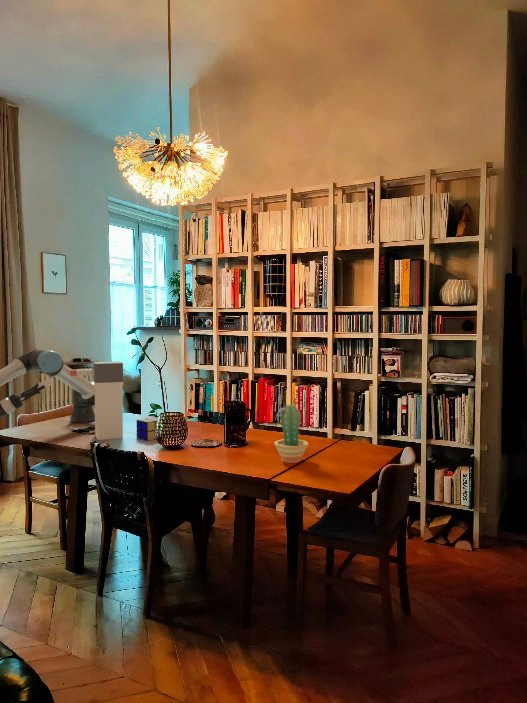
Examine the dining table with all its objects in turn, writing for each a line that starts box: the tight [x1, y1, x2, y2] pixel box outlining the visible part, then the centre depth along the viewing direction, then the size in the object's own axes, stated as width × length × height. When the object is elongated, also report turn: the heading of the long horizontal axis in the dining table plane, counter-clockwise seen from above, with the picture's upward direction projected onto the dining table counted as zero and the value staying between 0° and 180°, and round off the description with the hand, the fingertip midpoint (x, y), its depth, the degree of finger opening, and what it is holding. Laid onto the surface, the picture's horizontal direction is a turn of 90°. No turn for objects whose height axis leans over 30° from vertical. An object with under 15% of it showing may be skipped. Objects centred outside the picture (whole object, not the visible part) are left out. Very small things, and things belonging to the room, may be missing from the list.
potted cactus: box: [274, 404, 309, 464], centre depth 243 cm, size 15×15×25 cm
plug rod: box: [70, 368, 95, 377], centre depth 285 cm, size 25×3×3 cm, turn 112°
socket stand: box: [92, 360, 124, 441], centre depth 288 cm, size 14×14×40 cm
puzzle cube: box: [136, 417, 159, 442], centre depth 286 cm, size 10×10×10 cm
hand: (50, 381), depth 280 cm, fingers open, 13 cm apart
